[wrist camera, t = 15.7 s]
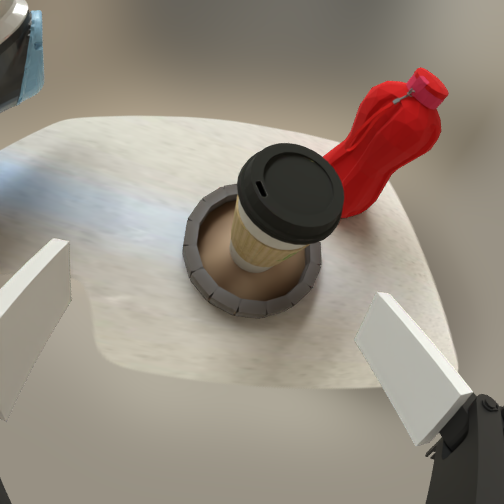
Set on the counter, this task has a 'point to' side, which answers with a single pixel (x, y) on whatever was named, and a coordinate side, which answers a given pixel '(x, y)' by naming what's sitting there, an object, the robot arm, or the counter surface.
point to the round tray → (230, 274)
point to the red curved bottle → (387, 137)
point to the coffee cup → (283, 205)
